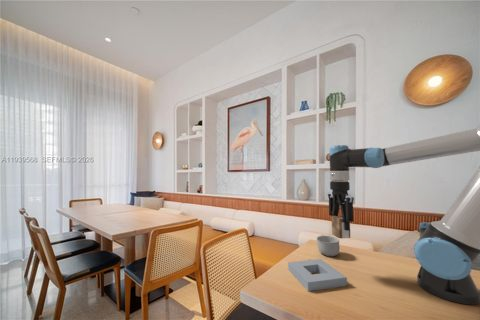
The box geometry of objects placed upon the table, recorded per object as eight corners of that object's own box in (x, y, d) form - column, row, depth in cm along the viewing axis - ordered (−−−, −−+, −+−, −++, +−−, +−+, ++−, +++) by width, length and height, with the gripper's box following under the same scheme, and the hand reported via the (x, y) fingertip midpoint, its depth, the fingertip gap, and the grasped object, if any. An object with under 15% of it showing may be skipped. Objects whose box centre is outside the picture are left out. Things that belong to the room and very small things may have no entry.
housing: (347, 285, 71) (346, 277, 72) (308, 291, 68) (307, 282, 68) (321, 265, 87) (320, 258, 87) (288, 269, 84) (288, 262, 84)
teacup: (342, 259, 93) (342, 242, 94) (319, 257, 95) (318, 241, 96) (334, 248, 107) (334, 233, 107) (314, 247, 109) (313, 232, 110)
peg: (350, 237, 80) (349, 218, 81) (339, 238, 79) (339, 218, 80) (342, 233, 85) (341, 215, 85) (331, 234, 84) (331, 216, 85)
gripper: (319, 180, 92) (320, 229, 90) (346, 182, 74) (348, 243, 73) (333, 180, 93) (335, 228, 92) (363, 182, 75) (365, 242, 74)
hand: (340, 235), depth 82 cm, fingers closed on peg, 5 cm apart
